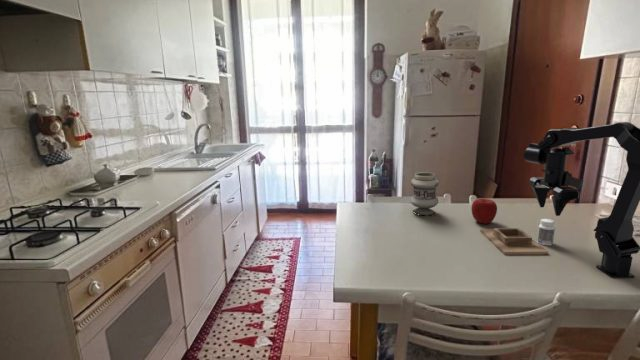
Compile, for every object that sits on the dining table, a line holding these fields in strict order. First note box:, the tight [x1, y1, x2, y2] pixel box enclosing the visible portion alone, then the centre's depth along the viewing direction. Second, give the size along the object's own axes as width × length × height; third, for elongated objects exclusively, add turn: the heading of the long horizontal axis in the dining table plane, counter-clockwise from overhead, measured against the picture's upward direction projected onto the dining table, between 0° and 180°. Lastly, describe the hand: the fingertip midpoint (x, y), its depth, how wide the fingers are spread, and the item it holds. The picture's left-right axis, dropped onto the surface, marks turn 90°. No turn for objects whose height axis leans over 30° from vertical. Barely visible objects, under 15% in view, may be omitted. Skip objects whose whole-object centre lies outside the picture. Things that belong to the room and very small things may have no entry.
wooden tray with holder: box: [479, 227, 549, 256], centre depth 124 cm, size 20×14×4 cm
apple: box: [471, 198, 498, 225], centre depth 143 cm, size 10×10×10 cm
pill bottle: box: [536, 218, 556, 246], centre depth 122 cm, size 5×5×8 cm
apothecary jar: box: [410, 171, 440, 217], centre depth 156 cm, size 12×12×18 cm
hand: (549, 211), depth 120 cm, fingers open, 9 cm apart
